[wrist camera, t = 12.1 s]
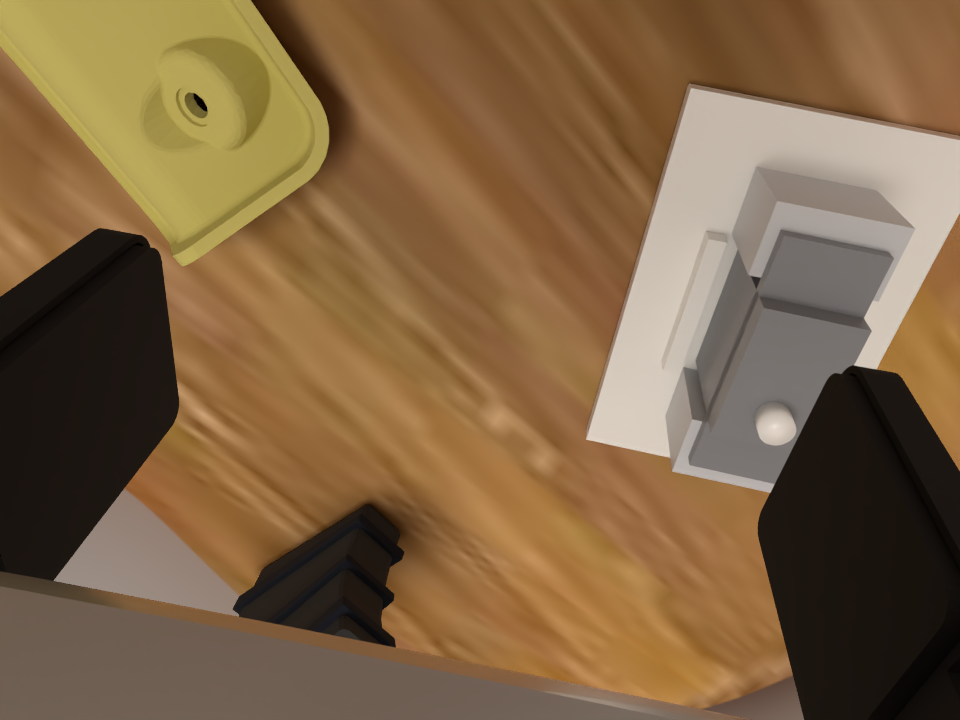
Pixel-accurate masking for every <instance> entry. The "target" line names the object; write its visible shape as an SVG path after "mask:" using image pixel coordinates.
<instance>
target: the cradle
mask: <svg viewBox="0 0 960 720" xmlns="http://www.w3.org/2000/svg"><path fill="white" fill-rule="evenodd" d="M959 213H960V136H958V135H953V134H948V133H942V132H937V131H932V130H927V129H922V128H917V127H912V126H906V125H901V124H896V123H891V122H886V121H881V120H875V119H870V118H865V117H860V116H855V115H850V114H844V113H839V112H834V111H829V110H824V109H819V108H814V107H808V106H803V105H798V104H793V103H788V102H783V101H777V100H772V99H767V98H762V97H757V96H752V95H746V94H741V93H736V92H731V91H726V90H721V89H716V88H710V87H705V86H700V85H695V84H690V83H688V87H687V90H686V94H685V97H684V100H683V104H682V107H681V110H680V114H679V117H678V121H677V124H676V127H675V131H674V134H673V138H672V141H671V144H670V148H669V151H668V154H667V158H666V161H665V165H664V168H663V171H662V175H661V178H660V182H659V185H658V188H657V192H656V195H655V199H654V202H653V205H652V209H651V212H650V215H649V219H648V222H647V226H646V229H645V232H644V236H643V239H642V243H641V246H640V249H639V253H638V256H637V259H636V263H635V266H634V270H633V273H632V276H631V280H630V283H629V287H628V290H627V293H626V297H625V300H624V303H623V307H622V310H621V314H620V317H619V320H618V324H617V327H616V331H615V334H614V337H613V341H612V344H611V348H610V351H609V354H608V358H607V361H606V364H605V368H604V371H603V375H602V378H601V381H600V385H599V388H598V392H597V395H596V398H595V402H594V405H593V408H592V412H591V415H590V419H589V422H588V425H587V432H586V440H591V441H595V442H600V443H605V444H609V445H614V446H619V447H623V448H628V449H632V450H637V451H642V452H646V453H651V454H655V455H660V456H665V457H669V458H670V459H671V467H672V471H673V472H678V473H682V474H687V475H691V476H696V477H701V478H705V479H710V480H714V481H719V482H724V483H728V484H733V485H737V486H742V487H747V488H751V489H756V490H760V491H765V492H769V493H771V491H772V489H773V487H774V485H775V484H772V483H768V482H763V481H759V480H754V479H750V478H745V477H741V476H736V475H732V474H727V473H723V472H718V471H713V470H709V469H704V468H700V467H695V466H691V465H689V459H688V456H689V453H690V451H691V448H692V446H693V443H694V441H695V439H696V436H697V434H698V431H699V429H700V426H701V424H702V421H703V419H704V416H705V414H706V410H705V405H704V400H703V395H702V390H701V385H700V380H699V375H698V370H697V365H696V361H695V360H696V358H697V355H698V353H699V350H700V347H701V345H702V342H703V339H704V337H705V334H706V331H707V329H708V326H709V324H710V321H711V318H712V316H713V313H714V310H715V308H716V305H717V303H718V300H719V297H720V295H721V292H722V289H723V287H724V284H725V281H726V279H727V276H728V274H729V271H730V268H731V266H732V263H733V260H734V258H735V255H736V252H737V250H738V251H739V253H740V256H741V258H742V261H743V263H744V266H745V268H746V271H747V273H748V275H750V276H755V277H760V278H761V277H762V274H763V272H764V269H765V267H766V264H767V262H768V259H769V257H770V255H771V252H772V250H773V247H774V245H775V242H776V240H777V237H778V235H779V232H780V230H785V231H789V232H794V233H799V234H804V235H809V236H814V237H818V238H823V239H828V240H833V241H838V242H843V243H847V244H852V245H857V246H862V247H867V248H871V249H876V250H881V251H886V252H889V253H890V254H891V255H892V257H893V258H894V260H893V262H892V264H891V266H890V268H889V270H888V272H887V274H886V276H885V278H884V280H883V281H882V283H881V285H880V287H879V289H878V291H877V293H876V295H875V297H874V299H873V301H872V303H871V305H870V307H869V309H868V311H867V313H866V315H865V317H864V319H865V321H866V323H867V324H868V326H869V327H870V329H871V330H872V332H871V334H870V336H869V338H868V339H867V341H866V343H865V345H864V347H863V349H862V351H861V353H860V355H859V357H858V359H857V361H856V363H855V364H854V366H860V367H865V368H871V369H877V367H878V365H879V363H880V361H881V359H882V358H883V356H884V354H885V352H886V350H887V348H888V346H889V344H890V343H891V341H892V339H893V337H894V335H895V333H896V331H897V329H898V328H899V326H900V324H901V322H902V320H903V318H904V316H905V314H906V313H907V311H908V309H909V307H910V305H911V303H912V301H913V299H914V298H915V296H916V294H917V292H918V290H919V288H920V286H921V284H922V283H923V281H924V279H925V277H926V275H927V273H928V271H929V269H930V268H931V266H932V264H933V262H934V260H935V258H936V256H937V255H938V253H939V251H940V249H941V247H942V245H943V243H944V241H945V240H946V238H947V236H948V234H949V232H950V230H951V228H952V226H953V225H954V223H955V221H956V219H957V217H958V215H959Z"/></svg>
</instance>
